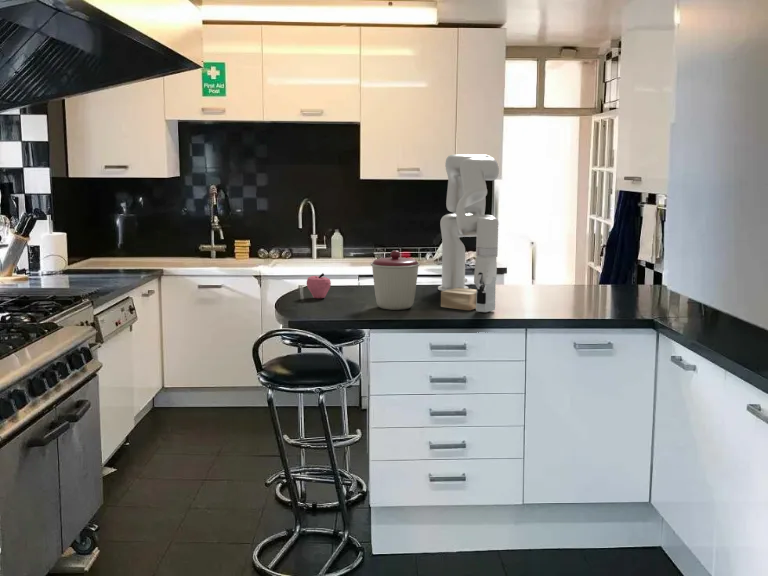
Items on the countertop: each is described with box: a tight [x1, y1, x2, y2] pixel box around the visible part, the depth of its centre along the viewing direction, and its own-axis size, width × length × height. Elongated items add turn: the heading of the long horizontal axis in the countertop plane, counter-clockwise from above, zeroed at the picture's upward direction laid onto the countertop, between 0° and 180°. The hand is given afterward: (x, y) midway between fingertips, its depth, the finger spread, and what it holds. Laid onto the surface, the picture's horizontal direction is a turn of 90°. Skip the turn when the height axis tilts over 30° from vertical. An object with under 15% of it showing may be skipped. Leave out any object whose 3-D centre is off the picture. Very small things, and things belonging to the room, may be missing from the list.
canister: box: [369, 250, 421, 311], centre depth 297 cm, size 18×18×21 cm
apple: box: [306, 272, 332, 299], centre depth 319 cm, size 10×9×10 cm
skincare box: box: [475, 277, 497, 313], centre depth 290 cm, size 6×4×12 cm
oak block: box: [440, 288, 476, 311], centre depth 302 cm, size 12×12×6 cm
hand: (485, 301), depth 291 cm, fingers closed on skincare box, 6 cm apart
